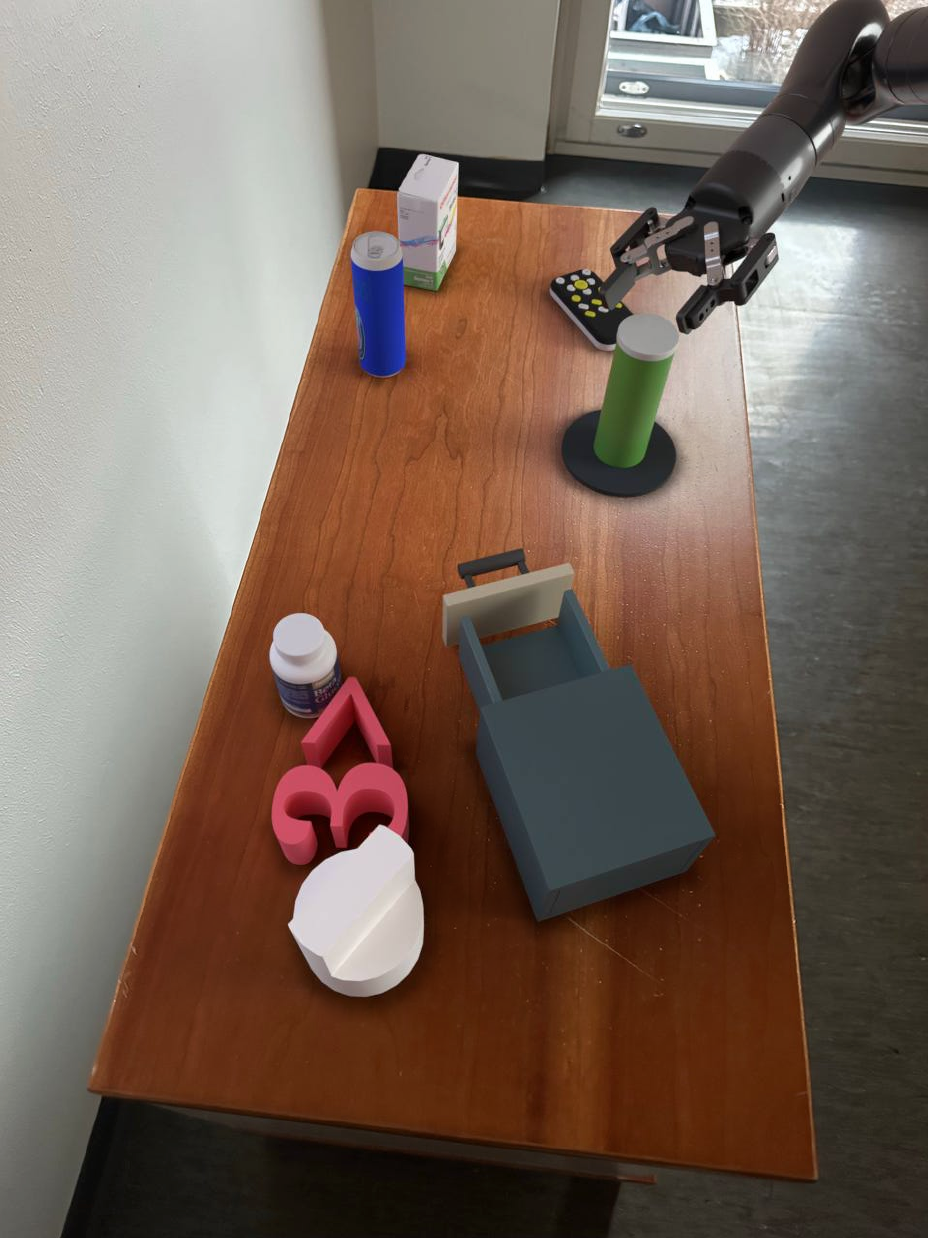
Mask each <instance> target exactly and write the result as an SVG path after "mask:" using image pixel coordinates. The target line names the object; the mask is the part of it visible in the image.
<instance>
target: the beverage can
mask: <svg viewBox="0 0 928 1238" xmlns="http://www.w3.org/2000/svg"><path fill="white" fill-rule="evenodd" d="M350 266H351V276H352V289H353V302H354V311H355V314H354V315H355V323H356V336H357V337H356V338H357V346H358V359H359V365H360V367H361V369H362V370H363V371H365V372H366V373H367V374H368V375H370V376H372V377H375V378H379V379H385V378H386V379H387V378H391V377H393V376H396V375H397V374H399V373H400V372H401V371H402V370H403V369H404V367H405V365H406V362H407V350H406V348H407V347H406V318H405V312H406V311H405V285H404V276H403V252H402V249H401V247H400V243H399V239H398V238H396V237H395V236H394V235H393V234H390V233H388V232H385V231H378V230H377V231H376V230H375V231H367V232H365V233H362V234H360V235H358V236H356V238H355V239H354V240H353V242H352V246H351V250H350Z"/></svg>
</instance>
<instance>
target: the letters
mask: <svg viewBox="0 0 928 1238" xmlns="http://www.w3.org/2000/svg"><path fill="white" fill-rule="evenodd" d="M317 718H318V719H317V720H316V721H315V722H314V724H313V725H312V726H311V728H310V729H309V731H308V732H307V733H306V735H305V736H304V737H303V738H302V740H301V742H300V745H301V748H302V751H303V754H304V758H305V761H306V764H304V765H303V764H302V765H298V766H295V767H293V768H291V769H289V770H287V772H286V773H285V774H284V775H283V776H282V777H281V779H280V780H279V782H278V783H277V786H276V789H275V792H274V794H273V799H272V804H271V805H272V806H271V823H272V829H273V832H274V834H275V836H276V838H277V840H278V843H279V845H280V847H281V849H282V852H283V855H284V856H285V858H286V859H287V860H288V862H290V863H291V864H293V865H296V866H303V865H304V866H305V865H307V864H309V863H310V862H312V861H313V860H314V858H315V856H316V854H317V851H318V846H319V842H318V839H317V836H316V833H315V830H314V827H313V824H312V821H311V820H301V819H300V818H301V817H304V816H308V815H318V816H323V817H326V818H328V819H330V824H329V826H330V831H331V834H332V837H333V841H334V845H335V848H338V849H339V848H342V849H343V848H348V842H349V835H350V830H351V827H352V824H353V823H354V822H355V820H356V819H357V818H358V817H359V816H361V815H363V814H365V813H380V814H384V815H386V816H388V817H390V818H391V819H392V820H391V822H390V824H389V825H388V826H386V827H387V828H388V829H390V830H392V831H393V832H395V833H396V834H398V835H399V836H400V837H401V838H402V839H403V840H404V841H405V842H406V843H407V844H408V843H409V836H410V817H409V802H408V793H407V788H406V786H405V785H406V784H405V783H404V781H403V779H402V777H401V775H400V774H399V773H398V771H396V770H394V766H393V765H394V763H393V755H392V745H391V743H390V741H389V739H388V737H387V735H386V732H385V731H384V729H383V727H382V725H381V723H380V721H379V719H378V716H376V713H375V711H374V710H373V708H372V706H371V703H370V702H369V700H368V698H367V696H366V694H365V691H364V690H363V688H362V686H361V684H360V682H359V680H358V679H357V677H356V676H348V677H347V679H346V680H345V681H344V683H342V687H341V688H340V690H339V691H338V692H337V694H336V695H335V697H334V698H333V699H332V701H331V702H330V703H329V705H328V706H327V708H326V709H325V710H324V712H323V713H322V714H321V716H320V717H317ZM355 722H356V725H357V727H358V729H359V731H360V733H361V735H362V736H363V737H362V738H363V739H364V741H365V743H366V745H367V747H368V749H369V750H370V753H371V755H372V757H373V759H374V761H375V762H364V763H360V764H358V765H355V766H354V767H352V768H351V769H349V770H348V771H347V772H346V774H345V775H344V777H343V778H342V780H340V783H339V786H338V788H337V787H336V785H335V783H334V781H333V779H332V778H331V776H330V775H329V774H328V773H327V772H326V771H325V770H324V769H322V768H323V767H324V765H325V764H326V763H327V761H328V759H329V758H330V757H331V755H332V754H333V753H334V751H335V749H336V748H337V747H338V746H339V744H340V743H341V742H342V740H343V739H344V737H345V736H346V735H347V733H348V731H349V730H350V729H351V727H352V726H353V724H354V723H355ZM372 832H373V831H370V832H369V835H368V836H370V834H371V833H372ZM408 845H409V844H408Z"/></svg>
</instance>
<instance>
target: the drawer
mask: <svg viewBox="0 0 928 1238" xmlns="http://www.w3.org/2000/svg"><path fill="white" fill-rule="evenodd" d="M525 553H526V552H525V551H524V549H523V548H522V547H520V548H516V549H512V550H507V551H505V552H504V551H503V552H501V553H495V554H492V555H489V556H485V557H480V558H476V559H473V560H469V561H465V562H461V563H458V564H457V565H456V566H457V573H458V576H459V578H460V579H461V580H464V583H465V585H466V587H467V588H465V589H461V590H457V591H454V592H450V593H446V594H443V595H442V629H441V631H442V632H441V634H442V635H441V637H442V640H443V641H442V642H443V643H444V646H445V648H450V647H453V646H457V645H458V659H459V662H460V664H461V667H462V670H463V673H464V675H465V678H466V680H467V682H468V683H467V684H468V685H469V688H470V691H471V693H472V696H473V698H474V701H475V704H476V707H477V709H478V712H479V713H480V707H482V706H486V705H489V704H493V703H496V702H500V701H503V700H507V699H510V698H514V697H517V696H521V695H524V694H528V693H531V692H535V691H538V690H542V689H545V688H549V687H552V686H556V685H559V684H563V683H566V682H570V681H573V680H577V679H580V678H584V677H587V676H591V675H594V674H598V673H601V672H605V671H608V670H612V669H611V666H610V664H609V662H608V660H607V658H606V656H605V654H604V652H603V650H602V647H601V646H600V643H599V641H598V640H597V637H596V635H595V633H594V631H593V629H592V626H591V625H590V622H589V621H588V618H587V616H586V614H585V612H584V610H583V608H582V606H581V603H580V602H579V600H578V598H577V595H576V594H575V591H574V589H573V588H572V586H573V581H574V577H575V571H574V569H573V567H572V565H571V563H570V562H566V563H562V564H558V565H555V566H550V567H547V568H542V569H539V570H535V571H531V572H530V571H529V569H528V566H527V564H526V561H527V559H526V558H527V557H526V554H525ZM516 566H517V568H518V571H519V573H520V574H519V575H516V576H512V577H508V578H504V579H500V580H497V581H492V582H489V583H485V584H481V585H476V583H475V581H474V578H473V577H477V576H481V575H485V574H489V573H492V572H496V571H500V570H504V569H508V568H513V567H516ZM553 619H557V621H556V625H554V626H550V627H547V628H543V629H539V630H538V629H537V630H536V631H535V630H534V631H532V632H527V633H525V634H520V635H516V636H513V637H509V638H506V639H501V640H498V641H495V642H491V643H488V644H484V645H482V644H481V642H480V640H479V639H483V638H487V637H491V636H494V635H499V634H501V633H502V634H503V633H505V632H509V631H512V630H516V629H517V630H518V629H521V628H525V627H527V626H531V625H536V624H539V623H543V622H546V621H549V620H553Z"/></svg>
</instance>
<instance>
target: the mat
mask: <svg viewBox="0 0 928 1238" xmlns="http://www.w3.org/2000/svg"><path fill="white" fill-rule="evenodd" d="M600 414H601V409H596V410H593V411H589V412H587V413H584V414H583V415H581V416H579V417H577V418H576V419H575V420H573V421H572V423H570V424H569V426H568V427H567V429H566V430H565V431H564V434H563V437H562V440H561V448H560V451H561V458H562V462H563V464H564V466H565V468H566V469H567V470H568V472H569V474H570V475H571V476H572V477H573V478H574V479H575V480H576V481H578V483H579V484H581V485H582V486H584V487H585V488H588V489H590V490H592V491H593V492H596V493H599V494H601V495H603V496H604V495H605V496H610V497H615V498H635V497H641V496H644V495H647V494H650V493H653V492H654V491H656V490H658V489H659V488H661V487H663V485H664V484H666V483H667V481H669V479H670V478H671V477H672V474H673V472H674V470H675V467H676V463H677V451H676V447H675V446H676V445H675V444H674V441H673V438H672V437H671V436H670V435H669V433H668V432H667V431H666V429H664V427H663V426H661V425H660V424H659V422H656V420H655V421H654V425H653V428H652V432H651V435H650V438H649V442H648V445H647V449H646V452H645V455H644V458H643V459H642V460H641V461H640V462H639V463H638V464H637V465H635V466H632V467H628V468H617V467H613V466H610V465H607V464H605V463H604V462H602V461H601V460H600V459H599V458H598V457H597V455H596V453H595V451H594V441H595V437H596V432H597V428H598V423H599V419H600Z"/></svg>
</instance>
